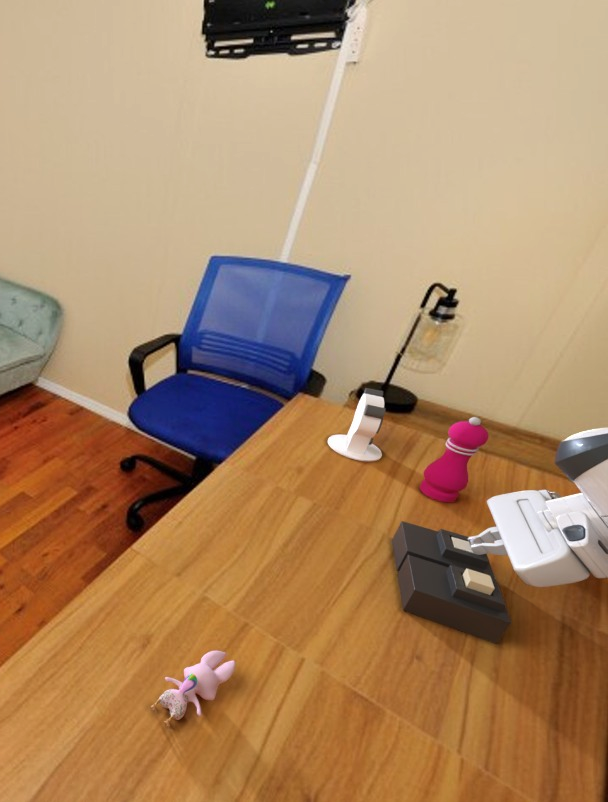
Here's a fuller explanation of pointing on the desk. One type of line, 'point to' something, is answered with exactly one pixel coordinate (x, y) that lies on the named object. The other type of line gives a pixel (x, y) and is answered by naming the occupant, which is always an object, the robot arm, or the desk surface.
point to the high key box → (451, 599)
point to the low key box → (435, 548)
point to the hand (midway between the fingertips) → (471, 546)
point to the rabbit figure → (196, 684)
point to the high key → (478, 581)
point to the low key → (461, 544)
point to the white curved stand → (362, 429)
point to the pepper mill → (454, 461)
